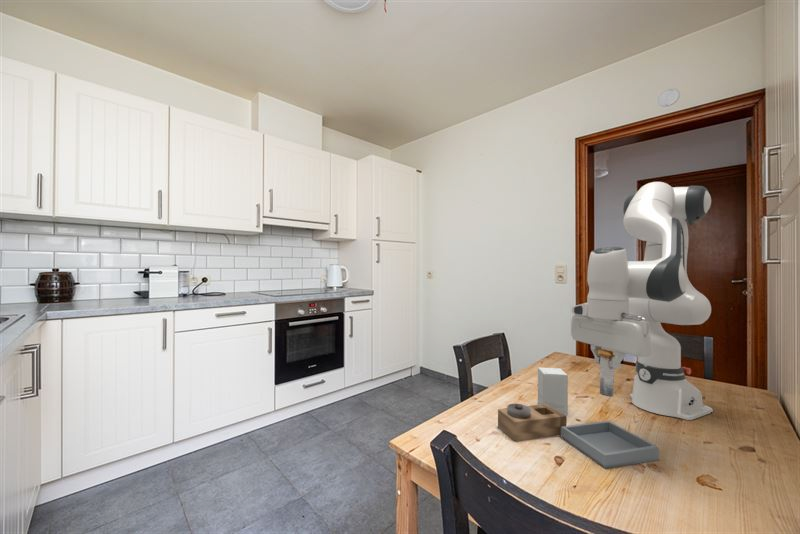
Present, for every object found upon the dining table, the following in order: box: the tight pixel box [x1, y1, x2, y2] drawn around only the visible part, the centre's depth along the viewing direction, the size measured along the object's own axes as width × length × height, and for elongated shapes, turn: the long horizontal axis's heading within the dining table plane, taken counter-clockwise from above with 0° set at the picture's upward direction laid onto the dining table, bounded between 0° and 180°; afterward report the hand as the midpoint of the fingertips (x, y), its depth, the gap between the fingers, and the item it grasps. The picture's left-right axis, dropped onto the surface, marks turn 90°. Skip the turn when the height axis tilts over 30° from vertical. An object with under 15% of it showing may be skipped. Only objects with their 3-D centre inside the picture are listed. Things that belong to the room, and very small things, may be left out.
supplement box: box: [537, 366, 569, 416], centre depth 102 cm, size 7×7×13 cm
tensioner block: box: [497, 403, 567, 443], centre depth 89 cm, size 16×8×7 cm, turn 104°
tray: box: [560, 420, 660, 470], centre depth 80 cm, size 16×14×3 cm
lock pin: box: [598, 348, 615, 398], centre depth 80 cm, size 4×4×11 cm
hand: (607, 365), depth 80 cm, fingers closed on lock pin, 3 cm apart
